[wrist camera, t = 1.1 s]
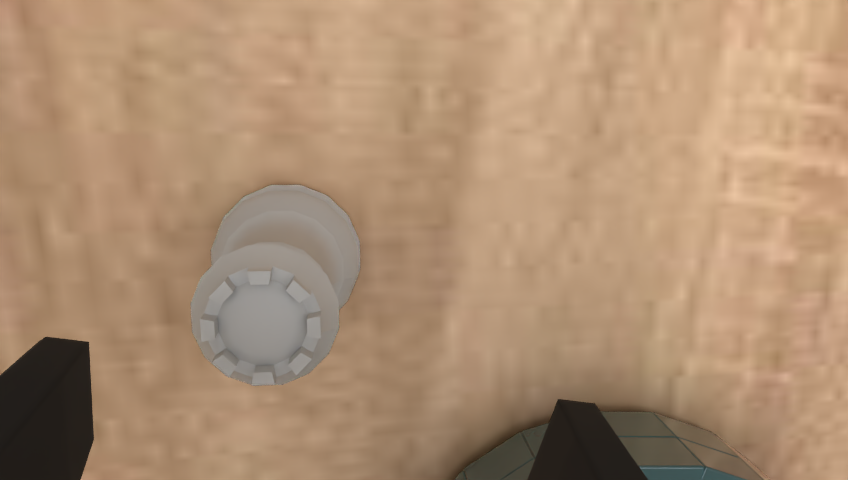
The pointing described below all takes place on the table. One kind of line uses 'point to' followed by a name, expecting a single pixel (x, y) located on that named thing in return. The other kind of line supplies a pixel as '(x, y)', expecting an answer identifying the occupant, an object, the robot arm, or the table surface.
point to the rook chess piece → (275, 285)
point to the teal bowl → (631, 452)
